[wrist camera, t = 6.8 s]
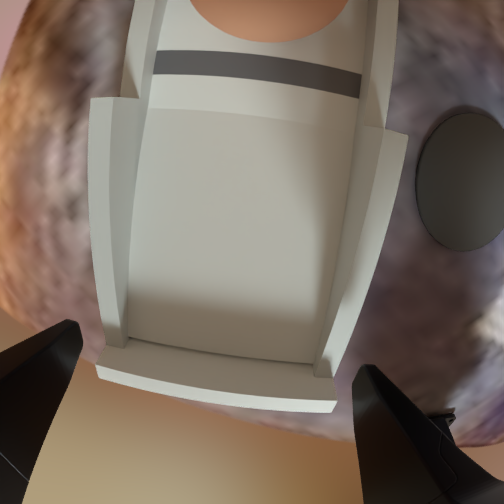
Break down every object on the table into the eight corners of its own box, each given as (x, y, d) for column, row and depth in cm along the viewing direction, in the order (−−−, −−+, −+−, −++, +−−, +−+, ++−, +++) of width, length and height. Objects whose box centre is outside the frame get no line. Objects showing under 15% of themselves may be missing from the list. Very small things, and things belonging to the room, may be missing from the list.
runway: (315, 326, 16) (331, 412, 10) (141, 302, 15) (99, 377, 10) (379, -29, 8) (432, -84, 3) (173, -52, 8) (129, -114, 3)
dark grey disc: (494, 256, 13) (497, 259, 13) (399, 237, 13) (401, 240, 13) (525, 140, 10) (528, 141, 10) (430, 92, 10) (433, 92, 10)
